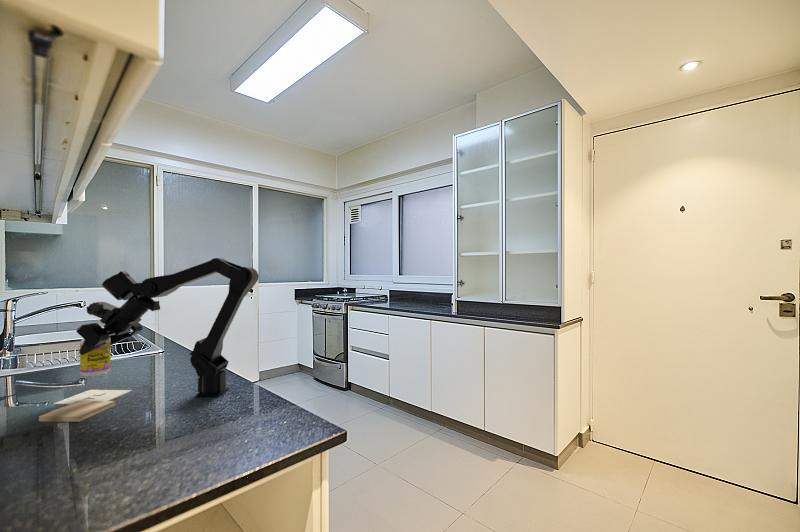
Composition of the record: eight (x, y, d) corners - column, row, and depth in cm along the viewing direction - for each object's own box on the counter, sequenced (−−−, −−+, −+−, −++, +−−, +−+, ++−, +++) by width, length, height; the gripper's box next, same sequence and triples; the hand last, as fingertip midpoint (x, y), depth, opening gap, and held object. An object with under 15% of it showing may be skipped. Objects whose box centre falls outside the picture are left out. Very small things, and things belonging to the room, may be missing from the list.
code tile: (132, 390, 105) (132, 389, 105) (99, 404, 94) (99, 403, 94) (90, 390, 106) (90, 389, 106) (53, 404, 95) (53, 403, 95)
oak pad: (114, 405, 94) (114, 401, 94) (79, 421, 84) (79, 416, 84) (78, 405, 94) (78, 400, 94) (38, 421, 84) (38, 416, 84)
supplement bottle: (83, 378, 95) (82, 331, 95) (77, 373, 99) (77, 328, 99) (113, 372, 101) (113, 327, 101) (107, 368, 105) (107, 325, 105)
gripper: (132, 290, 110) (94, 326, 109) (84, 294, 91) (38, 337, 90) (158, 314, 111) (121, 350, 109) (116, 323, 92) (71, 367, 91)
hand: (90, 350), depth 100 cm, fingers closed on supplement bottle, 7 cm apart
